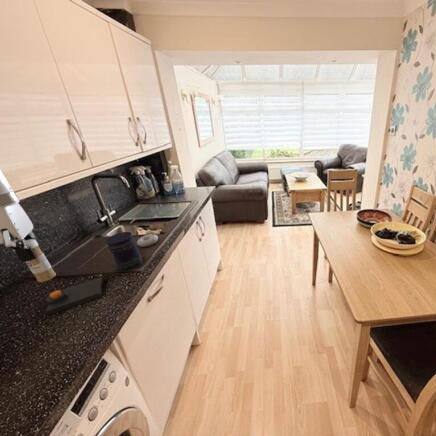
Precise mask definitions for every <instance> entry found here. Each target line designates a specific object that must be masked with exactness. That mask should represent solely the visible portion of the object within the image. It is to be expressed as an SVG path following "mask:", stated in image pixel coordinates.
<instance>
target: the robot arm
mask: <svg viewBox="0 0 436 436" xmlns="http://www.w3.org/2000/svg"><path fill="white" fill-rule="evenodd" d="M16 194H17V193H15V191H14V190H13V187H12V186H11V184H10V182H9V181H8V180H7V178H6V176H5V174H4V172H3V171H2V169H0V245H4V246H5V247H6V248H8V249H11V250H12V251H13V252H15V254H16V255H17V257H18V258H19V260H20V261H21V262H22V263H26V261H30V260H34V259H36V258H37V257H36V255H35V254H34V252H33V251H32V249H31V247H28V246H27V244H26V242H25V240H30V239H35V240H36V242H37V243H38V246H39V248H40V249H41V251H42V252H43V250H44V249H43V246H41V243H40V242H39V241H38V239H37V236H36V234H34V231H33V230H34V225H33V223H32V220H31V218H30V217H29V216H28V214H27V213H26V211H25V210H24V208H23V207H22V206H21V204H20V202H21V201H20V199H19V197H18V195H16ZM20 242H21V244H20Z"/></svg>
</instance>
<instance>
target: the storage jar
mask: <svg viewBox="0 0 436 436" xmlns="http://www.w3.org/2000/svg"><path fill="white" fill-rule="evenodd" d="M105 242H106V244H107V247H108V249H109V251H110V253H111V254H112V255H113V258H114V261H115V264H116V266H117V267H118V269H119V271H121V272H129V271H133V270H135V269H137V268H138V267H140V266H141V265H142V264H143V263H144V261H143V259H142V255H141V253H140V251H139V250H138V247H137V241H136V240H135V238H134V236H133V234H132V232H130V231H122V232H119V233H115V234H112V235H111V236H109V237H108V238H106V240H105Z"/></svg>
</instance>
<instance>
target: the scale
mask: <svg viewBox="0 0 436 436" xmlns="http://www.w3.org/2000/svg"><path fill="white" fill-rule="evenodd" d="M104 284H105V278H104V276H100V277H97V278H94V279H91V280H87V281H85V282H82V283H79V284H76V285H72V286H69V287H67V288H63V289H60V291H61V293H62V295H61V296H59V297H57V298H54V299H52V298H51V297H50V294H49V295H48V296H47V297H46V299H45V302H46V303H47V304H48V305H47V307H46V309H45V313H46V315H47V316H51V315H53V314H56V313H59V312H61V311H65V310H68V309H70V308H73V307H76V306H78V305H82V304H84V303H87V302H90V301H93V300H96V299H98V298H101V297H102V294H103V288H104Z"/></svg>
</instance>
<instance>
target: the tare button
mask: <svg viewBox="0 0 436 436" xmlns="http://www.w3.org/2000/svg"><path fill="white" fill-rule="evenodd" d="M60 290H61V289H60ZM60 290H59V289H57V290H54V291H52V292H51V293H49V295H50V297H51V298H52V299H54V298H57V297H59V296H61V295H62V293H61V291H60Z"/></svg>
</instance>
